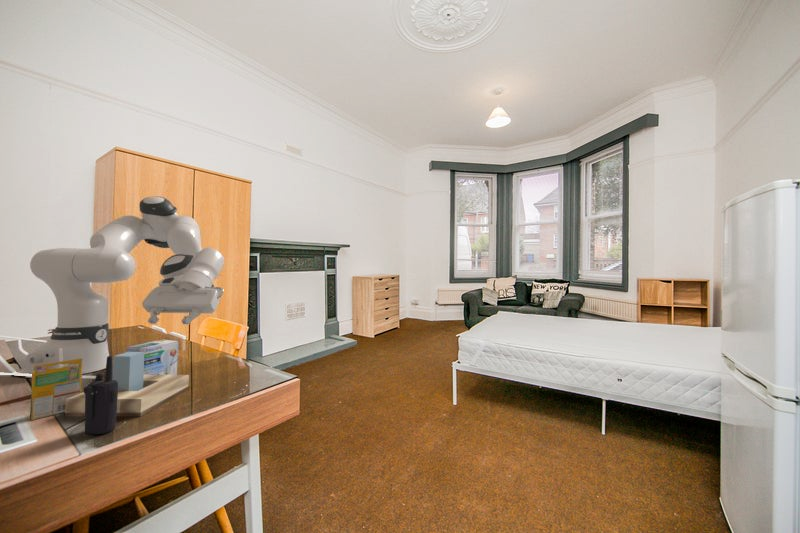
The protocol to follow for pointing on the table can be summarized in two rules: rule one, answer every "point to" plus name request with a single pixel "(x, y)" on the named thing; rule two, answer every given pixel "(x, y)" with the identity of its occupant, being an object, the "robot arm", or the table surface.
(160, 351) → the light bulb box
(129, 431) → the table surface
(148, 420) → the table surface
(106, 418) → the two-way radio
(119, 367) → the post
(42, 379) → the crayon box
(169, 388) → the pocket block
